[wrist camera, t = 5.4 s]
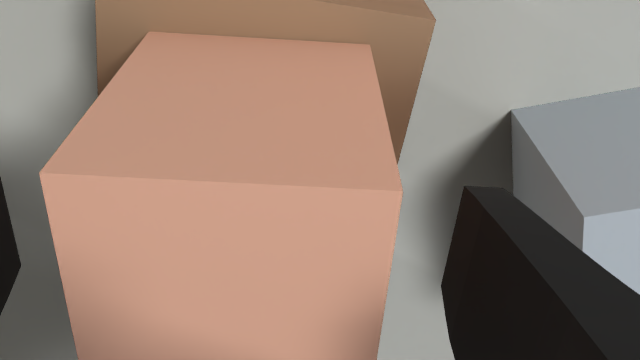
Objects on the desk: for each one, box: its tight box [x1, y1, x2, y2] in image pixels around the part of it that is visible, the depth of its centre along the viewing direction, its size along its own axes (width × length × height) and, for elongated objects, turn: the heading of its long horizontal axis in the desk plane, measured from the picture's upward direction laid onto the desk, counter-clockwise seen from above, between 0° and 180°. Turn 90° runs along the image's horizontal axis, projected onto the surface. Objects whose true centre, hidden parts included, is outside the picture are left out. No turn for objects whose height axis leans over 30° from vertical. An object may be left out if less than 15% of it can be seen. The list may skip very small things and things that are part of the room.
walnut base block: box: [95, 0, 436, 164], centre depth 14 cm, size 6×6×4 cm
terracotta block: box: [39, 32, 403, 360], centre depth 10 cm, size 4×4×5 cm
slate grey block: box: [511, 87, 640, 294], centre depth 15 cm, size 4×4×5 cm
